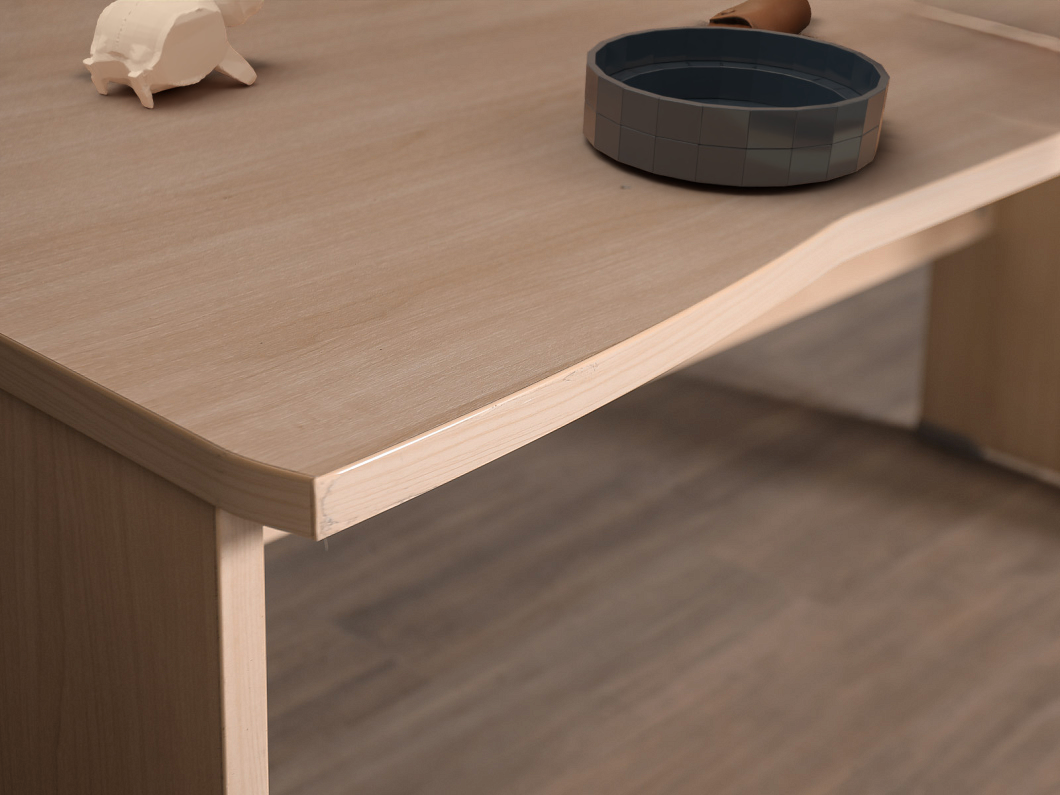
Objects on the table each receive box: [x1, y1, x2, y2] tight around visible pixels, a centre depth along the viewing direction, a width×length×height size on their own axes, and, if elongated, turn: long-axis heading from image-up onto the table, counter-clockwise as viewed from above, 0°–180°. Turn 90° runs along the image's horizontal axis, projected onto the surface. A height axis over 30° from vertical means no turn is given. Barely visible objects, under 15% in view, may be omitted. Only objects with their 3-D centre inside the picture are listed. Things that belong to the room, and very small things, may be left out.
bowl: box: [582, 25, 891, 188], centre depth 85 cm, size 20×20×6 cm
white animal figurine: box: [82, 0, 265, 109], centre depth 93 cm, size 9×8×15 cm
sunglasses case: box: [706, 0, 812, 35], centre depth 105 cm, size 18×7×7 cm
